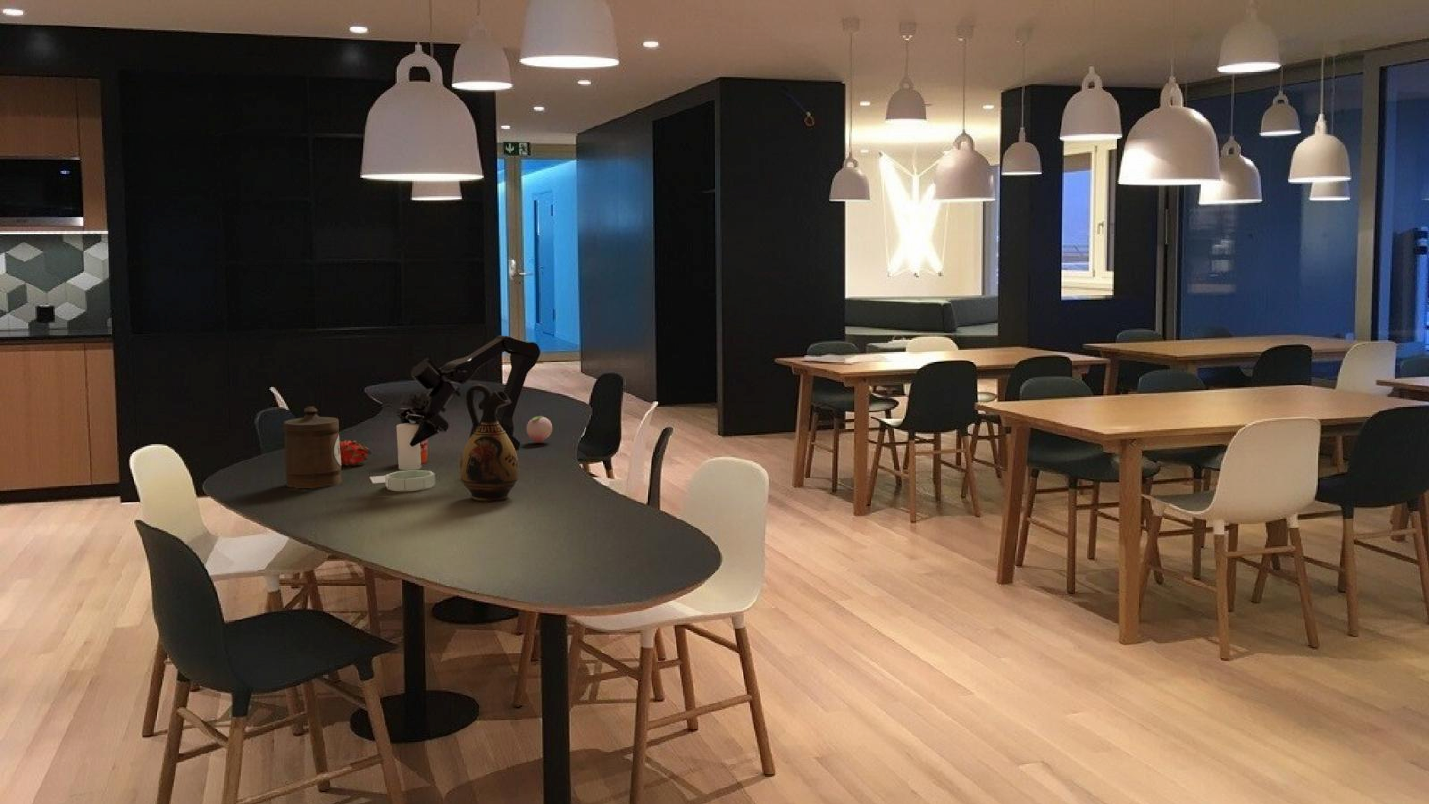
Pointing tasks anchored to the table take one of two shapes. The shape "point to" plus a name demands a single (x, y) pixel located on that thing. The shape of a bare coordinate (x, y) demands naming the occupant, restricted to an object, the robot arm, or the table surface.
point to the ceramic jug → (488, 450)
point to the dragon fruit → (352, 453)
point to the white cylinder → (408, 447)
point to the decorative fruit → (539, 428)
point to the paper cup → (423, 451)
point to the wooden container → (312, 451)
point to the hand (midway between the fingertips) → (404, 444)
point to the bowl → (410, 480)
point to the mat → (378, 479)
